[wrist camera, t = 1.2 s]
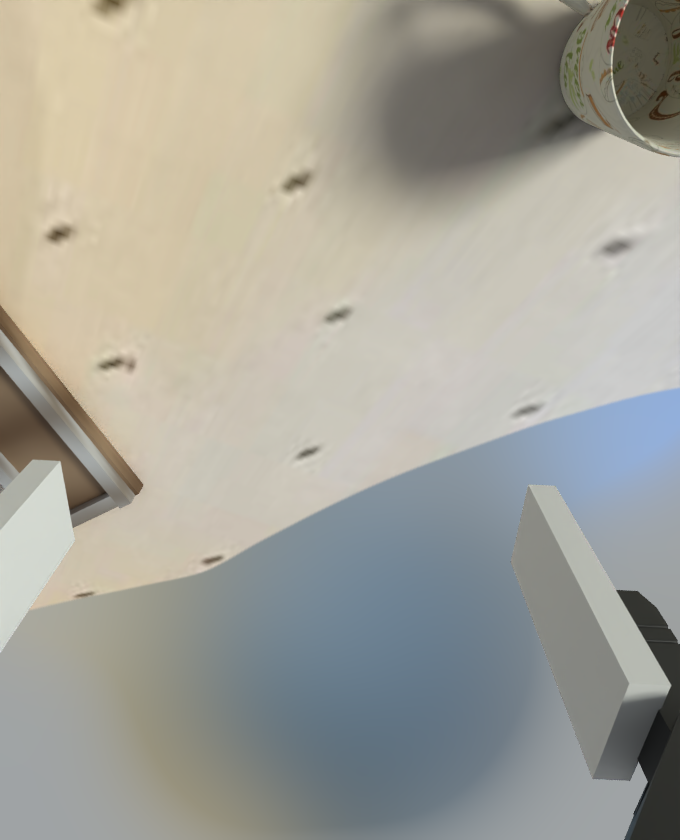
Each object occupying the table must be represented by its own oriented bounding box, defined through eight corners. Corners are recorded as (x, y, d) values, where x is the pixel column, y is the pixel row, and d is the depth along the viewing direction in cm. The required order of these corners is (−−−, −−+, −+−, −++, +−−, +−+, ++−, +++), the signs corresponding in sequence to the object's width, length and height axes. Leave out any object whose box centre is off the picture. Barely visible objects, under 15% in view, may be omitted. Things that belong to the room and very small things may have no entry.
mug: (617, 177, 35) (710, 196, 26) (444, 47, 32) (482, 18, 23) (726, 35, 32) (875, 0, 23) (545, -124, 29) (634, -235, 20)
